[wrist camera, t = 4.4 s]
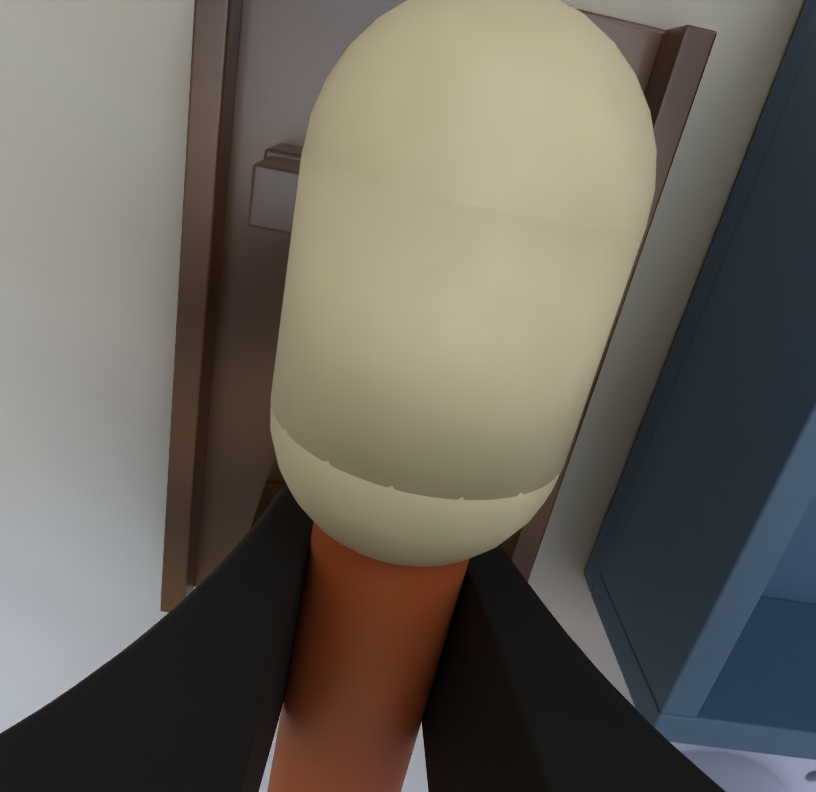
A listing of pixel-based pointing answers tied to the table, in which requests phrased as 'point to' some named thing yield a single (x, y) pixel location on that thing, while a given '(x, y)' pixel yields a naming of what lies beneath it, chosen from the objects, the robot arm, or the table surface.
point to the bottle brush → (439, 339)
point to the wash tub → (731, 468)
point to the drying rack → (270, 242)
